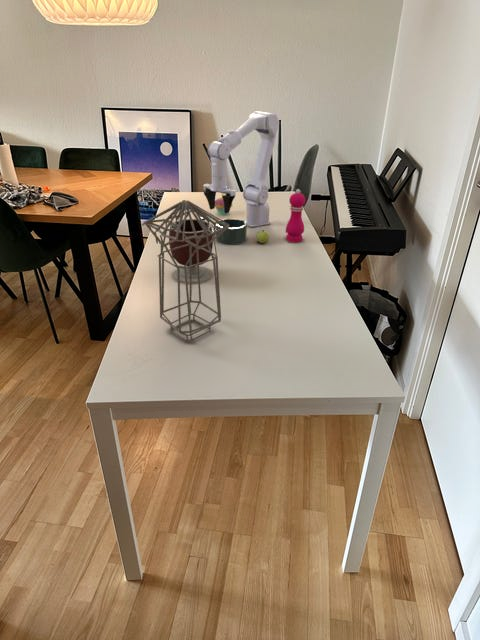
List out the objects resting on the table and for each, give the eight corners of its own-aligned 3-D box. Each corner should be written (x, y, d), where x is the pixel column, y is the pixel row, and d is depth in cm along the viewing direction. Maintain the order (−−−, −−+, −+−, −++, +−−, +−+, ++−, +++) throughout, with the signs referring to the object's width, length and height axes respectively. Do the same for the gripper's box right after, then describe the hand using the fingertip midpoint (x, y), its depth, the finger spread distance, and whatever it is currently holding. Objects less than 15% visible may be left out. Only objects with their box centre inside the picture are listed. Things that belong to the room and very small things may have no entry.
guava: (264, 239, 177) (264, 226, 175) (270, 243, 174) (271, 230, 171) (254, 241, 175) (254, 228, 173) (260, 245, 172) (261, 232, 169)
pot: (236, 232, 184) (237, 216, 181) (251, 241, 176) (252, 225, 172) (211, 236, 179) (210, 221, 176) (225, 246, 171) (225, 230, 167)
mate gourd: (207, 264, 156) (206, 208, 146) (218, 281, 145) (217, 221, 134) (163, 269, 152) (158, 211, 142) (170, 287, 141) (166, 226, 130)
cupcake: (231, 217, 201) (232, 190, 195) (213, 216, 201) (212, 189, 195) (232, 211, 208) (232, 185, 202) (214, 210, 209) (213, 184, 202)
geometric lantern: (197, 311, 128) (192, 188, 110) (232, 333, 118) (233, 202, 100) (149, 330, 119) (135, 199, 101) (183, 356, 109) (175, 216, 91)
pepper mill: (282, 241, 177) (285, 190, 166) (289, 235, 182) (292, 185, 172) (299, 244, 174) (303, 192, 163) (305, 238, 179) (310, 188, 169)
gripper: (197, 174, 171) (199, 209, 178) (227, 180, 164) (227, 216, 171) (210, 171, 176) (210, 205, 183) (239, 177, 168) (238, 212, 175)
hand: (219, 210), depth 177 cm, fingers open, 7 cm apart
